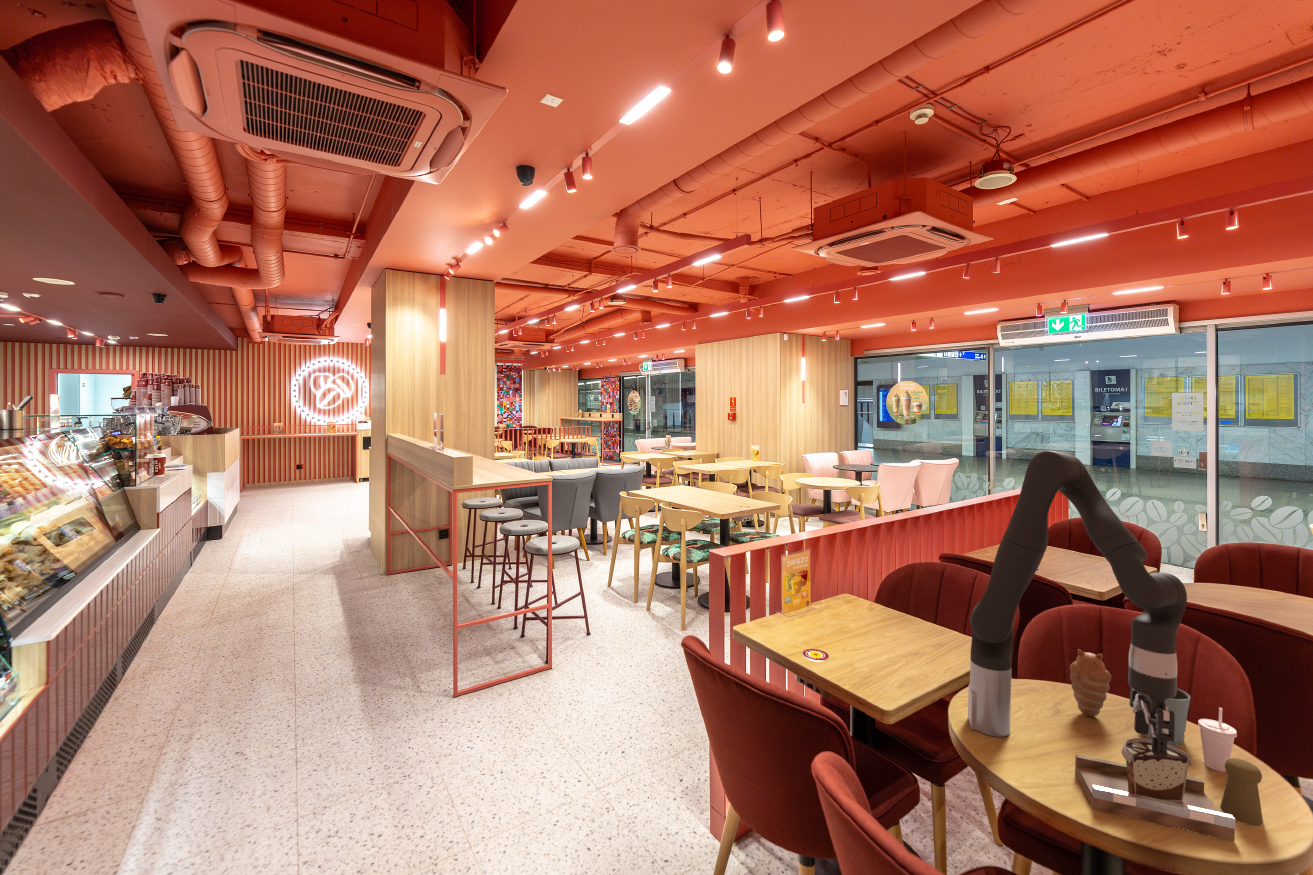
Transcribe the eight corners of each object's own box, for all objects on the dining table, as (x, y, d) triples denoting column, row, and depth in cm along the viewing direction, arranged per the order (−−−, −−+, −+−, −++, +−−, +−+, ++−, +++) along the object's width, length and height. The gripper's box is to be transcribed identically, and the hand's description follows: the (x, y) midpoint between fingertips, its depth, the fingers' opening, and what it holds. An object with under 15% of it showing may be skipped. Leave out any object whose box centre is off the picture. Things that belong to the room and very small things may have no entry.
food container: (1163, 781, 118) (1165, 736, 118) (1190, 801, 112) (1192, 754, 112) (1105, 779, 119) (1106, 735, 118) (1128, 800, 113) (1130, 753, 112)
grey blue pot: (1130, 733, 141) (1131, 687, 140) (1140, 719, 147) (1141, 676, 146) (1184, 752, 133) (1186, 704, 132) (1192, 737, 139) (1194, 691, 138)
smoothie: (1243, 776, 123) (1246, 716, 123) (1210, 773, 125) (1212, 713, 124) (1220, 759, 130) (1222, 702, 129) (1189, 756, 131) (1191, 699, 130)
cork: (1211, 804, 115) (1213, 754, 114) (1237, 803, 115) (1239, 752, 115) (1245, 826, 109) (1247, 772, 108) (1272, 824, 109) (1274, 771, 109)
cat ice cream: (1068, 716, 148) (1070, 651, 148) (1068, 704, 155) (1070, 642, 154) (1110, 727, 143) (1112, 660, 142) (1108, 714, 149) (1110, 650, 149)
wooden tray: (1094, 810, 113) (1094, 789, 113) (1075, 773, 125) (1075, 754, 125) (1235, 842, 105) (1236, 819, 104) (1200, 799, 116) (1201, 779, 116)
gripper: (1193, 687, 106) (1190, 768, 106) (1159, 657, 119) (1157, 729, 119) (1144, 679, 109) (1141, 759, 109) (1116, 651, 122) (1114, 722, 122)
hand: (1149, 743), depth 114 cm, fingers open, 8 cm apart
